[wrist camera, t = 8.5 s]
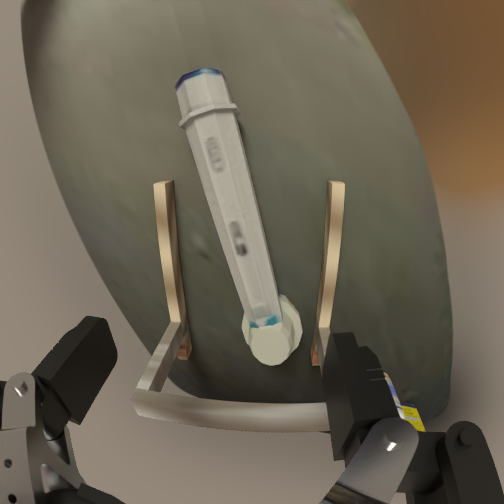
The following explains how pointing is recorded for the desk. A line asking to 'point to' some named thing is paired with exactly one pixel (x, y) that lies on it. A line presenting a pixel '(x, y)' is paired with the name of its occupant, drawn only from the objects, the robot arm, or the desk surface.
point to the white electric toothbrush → (236, 213)
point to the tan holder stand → (179, 344)
